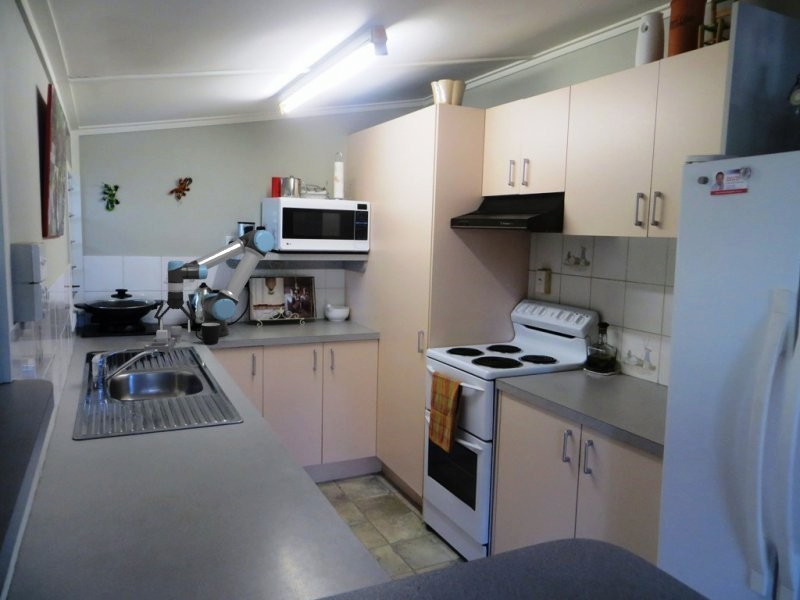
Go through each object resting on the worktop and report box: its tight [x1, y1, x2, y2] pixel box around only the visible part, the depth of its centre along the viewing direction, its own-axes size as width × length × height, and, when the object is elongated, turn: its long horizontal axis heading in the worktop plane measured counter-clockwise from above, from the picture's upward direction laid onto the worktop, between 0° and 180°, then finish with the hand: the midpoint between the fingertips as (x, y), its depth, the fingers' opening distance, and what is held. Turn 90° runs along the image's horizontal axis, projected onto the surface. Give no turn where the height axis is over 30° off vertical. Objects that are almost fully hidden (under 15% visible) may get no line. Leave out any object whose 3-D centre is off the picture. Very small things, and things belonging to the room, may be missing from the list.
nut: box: [170, 325, 183, 344], centre depth 306 cm, size 5×5×8 cm
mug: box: [195, 323, 220, 346], centre depth 304 cm, size 12×9×10 cm
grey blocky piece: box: [143, 329, 177, 354], centre depth 290 cm, size 11×20×8 cm, turn 12°
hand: (175, 332), depth 306 cm, fingers open, 13 cm apart
